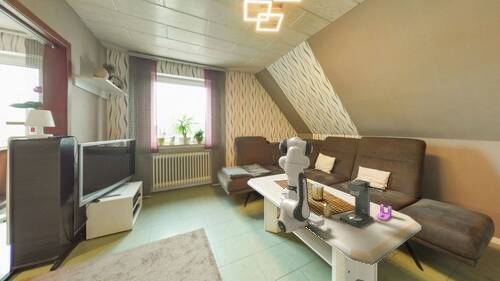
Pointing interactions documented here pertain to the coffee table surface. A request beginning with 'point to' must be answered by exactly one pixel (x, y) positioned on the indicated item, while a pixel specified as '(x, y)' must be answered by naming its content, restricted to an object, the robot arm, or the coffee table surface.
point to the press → (360, 203)
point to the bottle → (327, 210)
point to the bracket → (384, 213)
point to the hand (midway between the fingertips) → (316, 213)
